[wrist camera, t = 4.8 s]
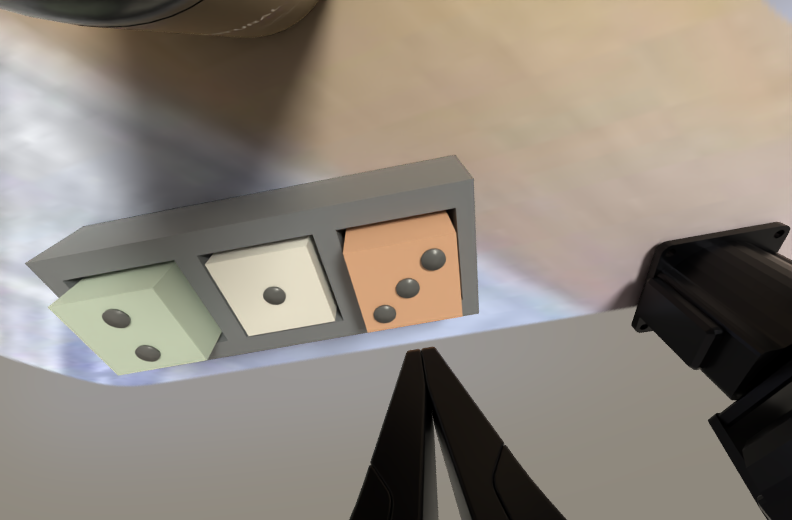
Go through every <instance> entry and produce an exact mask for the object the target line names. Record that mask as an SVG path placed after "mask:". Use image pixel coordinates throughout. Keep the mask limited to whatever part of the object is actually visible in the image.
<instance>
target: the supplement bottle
mask: <svg viewBox="0 0 792 520" xmlns="http://www.w3.org/2000/svg"><path fill="white" fill-rule="evenodd" d="M318 1H319V0H0V9H3V10H7V11H11V12H14V13H18V14H22V15H25V16H29V17H34V18H39V19H45V20H51V21H56V22H62V23H68V24H74V25H80V26H89V27H102V28H115V29H129V30H142V31H156V32H170V33H184V34H197V35H211V36H225V37H239V38H242V37H244V38H249V37H262V36H268V35H271V34H275V33H278V32H281V31H283V30H285V29H287V28H289V27H291V26H293V25H294V24H296V23H297V22H299V21H300V20H301V19H302V18H304V17H305V16H306V15H307V14H308V13H309V12H310V11H311V10H312V9H313V7H314V6H315V5H316V4H317V2H318Z"/></svg>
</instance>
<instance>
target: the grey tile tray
mask: <svg viewBox="0 0 792 520" xmlns="http://www.w3.org/2000/svg"><path fill="white" fill-rule="evenodd" d="M441 210H446V212H447V214H448V216H449V218H450V220H451V223H452V225H453V227H454V229H455V231H456V237H457V250H458V263H459V276H460V288H461V301H462V314H463V316H467V315H473V314H478V313H479V303H478V278H477V252H476V227H475V202H474V179H473V177H472V176H471V175H470V173H469V172H468V171H467V169H466V168H465V167H464V166H463V164H462V163H461V162H460V160H459V159H458V158H457V156H456V155H452V156H447V157H442V158H437V159H431V160H426V161H421V162H416V163H410V164H405V165H400V166H395V167H390V168H384V169H379V170H374V171H369V172H364V173H358V174H353V175H348V176H343V177H338V178H332V179H327V180H322V181H317V182H312V183H306V184H301V185H296V186H291V187H286V188H280V189H275V190H270V191H265V192H259V193H254V194H249V195H244V196H239V197H233V198H228V199H223V200H218V201H213V202H207V203H202V204H197V205H192V206H187V207H181V208H176V209H171V210H166V211H161V212H155V213H150V214H145V215H140V216H134V217H129V218H124V219H119V220H114V221H108V222H103V223H98V224H93V225H88V226H83V227H82V228H80V229H78V230H77V231H75V232H74V233H72V234H71V235H69V236H67V237H66V238H64V239H63V240H61V241H59V242H58V243H56V244H55V245H53V246H52V247H50V248H48V249H47V250H45V251H44V252H42V253H40V254H39V255H37V256H36V257H34V258H33V259H31V260H29V261H28V262H26V263H25V264H26V265H27V266H28V267H29V268H30V269H31V270H32V271H33V272H34V273H35V274H36V275H37V276H38V277H39V278H40V279H41V280H42V281H43V282H44V283H45V284H46V285H47V286H48V287H49V288H50V289H51V290H52V291H53V292H54V293H55V294H56V295H57V296H58V297H59V298H60V297H61V296H62V295H63V294H65V293H66V292H67V291H68V290H70V289H71V288H72V287H73V286H75V285H76V284H77V283H78V282H79V281H81V280H82V279H83V278H84V277H86V276H91V275H96V274H101V273H107V272H112V271H118V270H123V269H128V268H134V267H139V266H145V265H150V264H155V263H161V262H166V261H172V260H174V261H175V262H176V264H177V265H178V267H179V268H180V270H181V271H182V273H183V274H184V276H185V277H186V279H187V280H188V282H189V283H190V285H191V286H192V287H193V289H194V290H195V292H196V293H197V295H198V296H199V298H200V299H201V301H202V302H203V304H204V305H205V307H206V308H207V310H208V311H209V313H210V314H211V316H212V317H213V319H214V320H215V322H216V323H217V325H218V326H219V328H220V329H221V331H222V333H221V334H220V336H219V338H218V340H217V342H216V344H215V346H214V348H213V350H212V352H211V354H210V356H209V358H208V360H210V359H216V358H222V357H228V356H234V355H240V354H245V353H251V352H257V351H263V350H269V349H275V348H280V347H286V346H292V345H298V344H304V343H310V342H315V341H321V340H327V339H333V338H339V337H344V336H350V335H356V334H362V333H368V332H367V328H366V325H365V322H364V319H363V316H362V313H361V309H360V306H359V303H358V300H357V297H356V293H355V290H354V287H353V284H352V281H351V278H350V274H349V271H348V268H347V265H346V262H345V258H344V255H343V250H344V242H345V234H346V228H350V227H355V226H360V225H366V224H371V223H377V222H382V221H387V220H393V219H398V218H403V217H409V216H414V215H420V214H425V213H430V212H436V211H441ZM312 234H313V237H314V240H315V243H316V245H317V248H318V251H319V254H320V256H321V259H322V262H323V265H324V268H325V270H326V273H327V276H328V279H329V281H330V284H331V287H332V290H333V292H334V295H335V298H336V301H337V310H336V318H335V321H333V322H327V323H322V324H316V325H310V326H304V327H299V328H293V329H287V330H281V331H276V332H270V333H264V334H258V335H253V336H248V334H247V333H246V331H245V329H244V328H243V326H242V325H241V323H240V321H239V320H238V318H237V316H236V315H235V313H234V311H233V310H232V308H231V307H230V305H229V303H228V302H227V300H226V298H225V297H224V295H223V293H222V292H221V290H220V289H219V287H218V285H217V284H216V282H215V280H214V279H213V277H212V276H211V274H210V272H209V271H208V269H207V267H206V266H205V264H206V262H207V261H208V260H209V258H210V257H211V256H212V254H213V253H215V252H220V251H225V250H231V249H236V248H242V247H247V246H252V245H258V244H263V243H269V242H274V241H279V240H285V239H290V238H296V237H301V236H306V235H312Z"/></svg>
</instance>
